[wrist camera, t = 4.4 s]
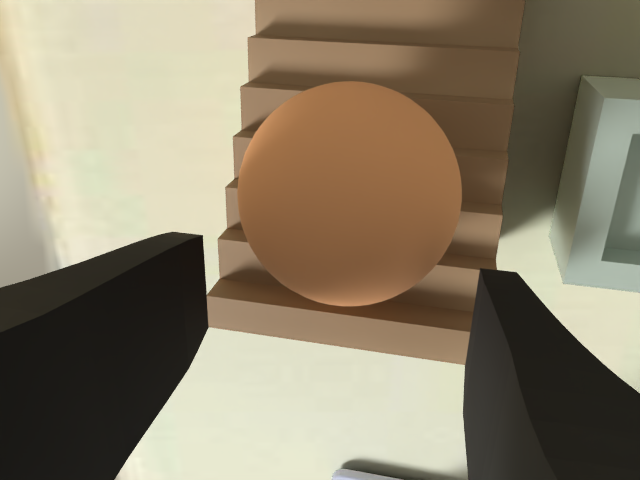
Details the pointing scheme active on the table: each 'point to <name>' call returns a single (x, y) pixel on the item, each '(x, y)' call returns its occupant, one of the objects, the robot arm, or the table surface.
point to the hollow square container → (601, 188)
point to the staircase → (435, 98)
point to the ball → (349, 193)
